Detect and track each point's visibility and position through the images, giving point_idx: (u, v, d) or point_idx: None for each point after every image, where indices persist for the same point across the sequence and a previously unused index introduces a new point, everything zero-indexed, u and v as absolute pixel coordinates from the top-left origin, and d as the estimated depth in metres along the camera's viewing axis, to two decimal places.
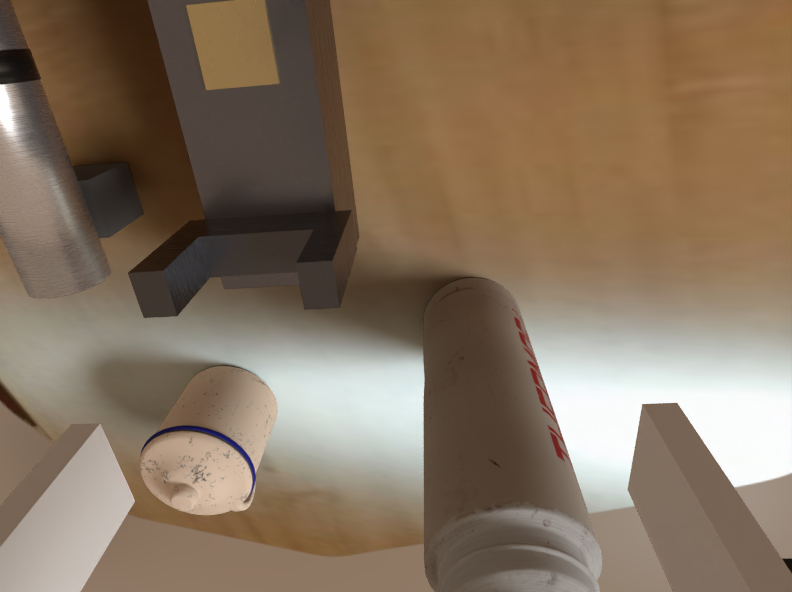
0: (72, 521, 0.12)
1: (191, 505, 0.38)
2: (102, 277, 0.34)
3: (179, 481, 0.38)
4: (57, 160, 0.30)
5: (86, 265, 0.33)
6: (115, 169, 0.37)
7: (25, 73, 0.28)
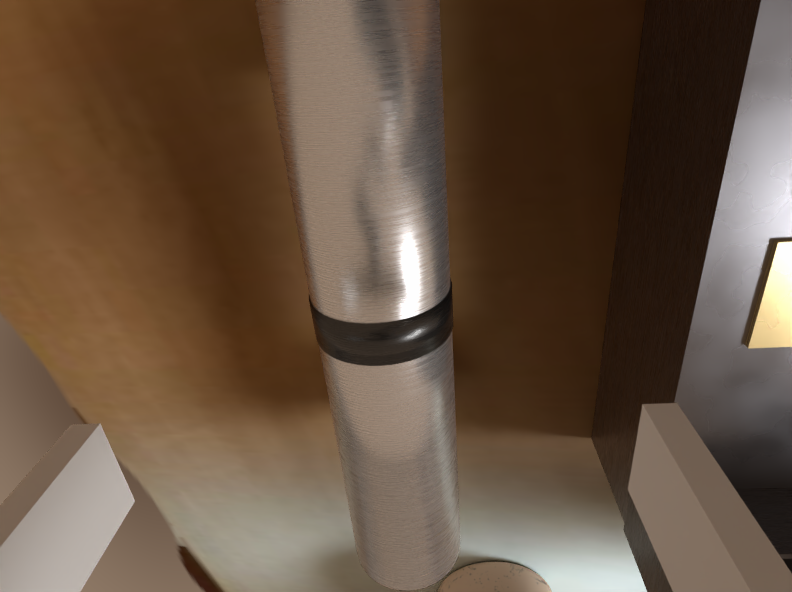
0: (72, 521, 0.12)
1: None
2: (459, 546, 0.24)
3: None
4: (454, 421, 0.21)
5: (453, 543, 0.23)
6: None
7: (451, 319, 0.18)
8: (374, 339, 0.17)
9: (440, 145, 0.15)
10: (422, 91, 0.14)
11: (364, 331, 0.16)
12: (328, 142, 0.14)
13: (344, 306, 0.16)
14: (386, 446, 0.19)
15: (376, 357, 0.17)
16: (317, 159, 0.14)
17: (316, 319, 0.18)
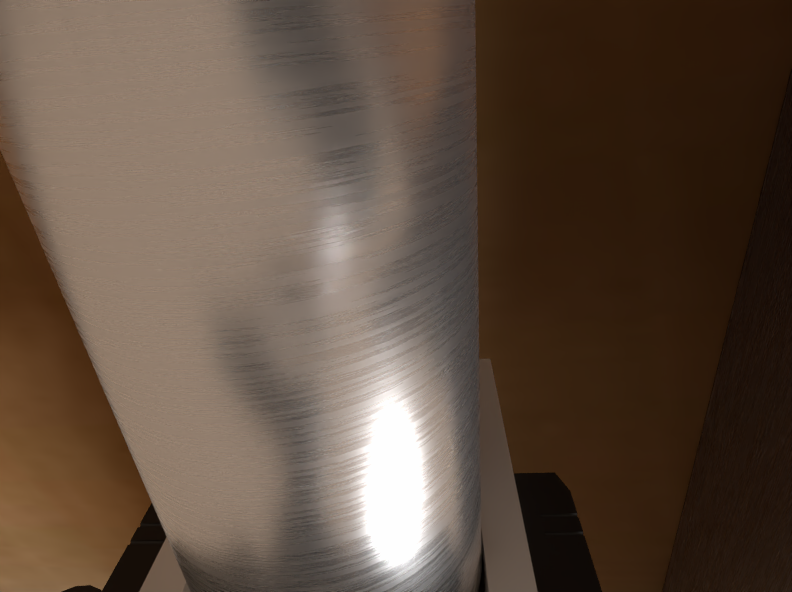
0: None
1: None
2: None
3: None
4: None
5: None
6: None
7: None
8: None
9: (475, 336, 0.06)
10: (444, 241, 0.05)
11: None
12: (184, 397, 0.05)
13: None
14: None
15: None
16: (160, 426, 0.05)
17: None
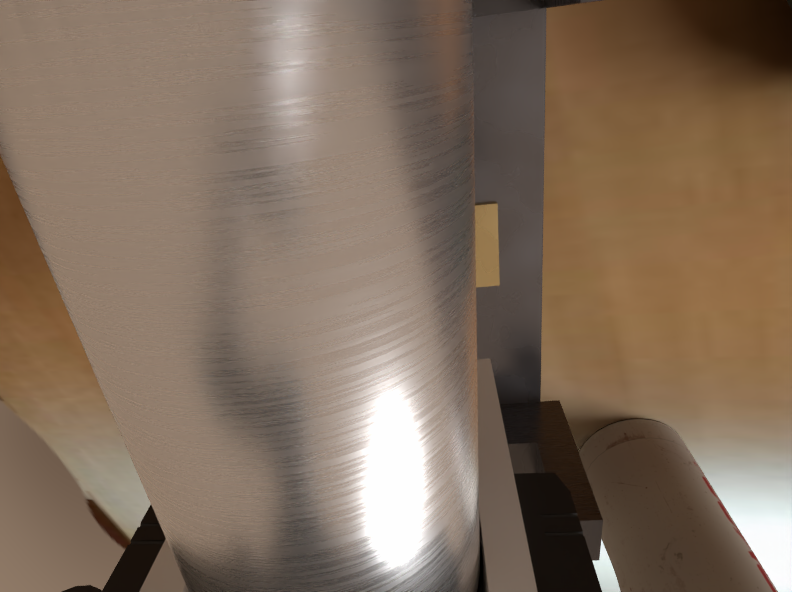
0: None
1: None
2: None
3: None
4: None
5: None
6: None
7: None
8: None
9: (473, 339, 0.07)
10: (441, 245, 0.05)
11: None
12: (182, 400, 0.05)
13: None
14: None
15: None
16: (159, 429, 0.05)
17: None
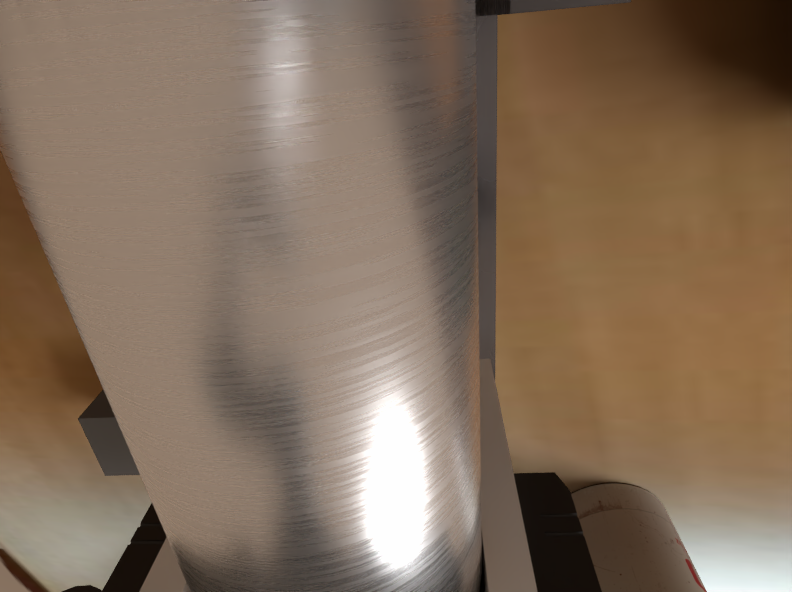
0: None
1: None
2: None
3: None
4: None
5: None
6: None
7: None
8: None
9: (475, 340, 0.07)
10: (444, 246, 0.05)
11: None
12: (185, 402, 0.05)
13: None
14: None
15: None
16: (163, 430, 0.05)
17: None
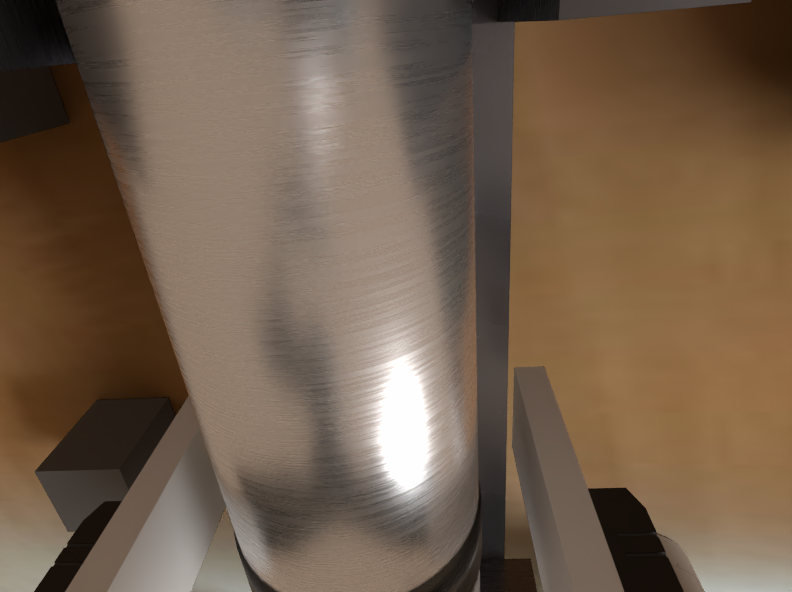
0: (210, 464, 0.13)
1: None
2: None
3: None
4: None
5: None
6: (154, 421, 0.26)
7: (481, 534, 0.11)
8: None
9: (473, 281, 0.08)
10: (451, 195, 0.06)
11: None
12: (250, 319, 0.06)
13: (301, 583, 0.08)
14: None
15: None
16: (225, 346, 0.06)
17: (249, 577, 0.10)
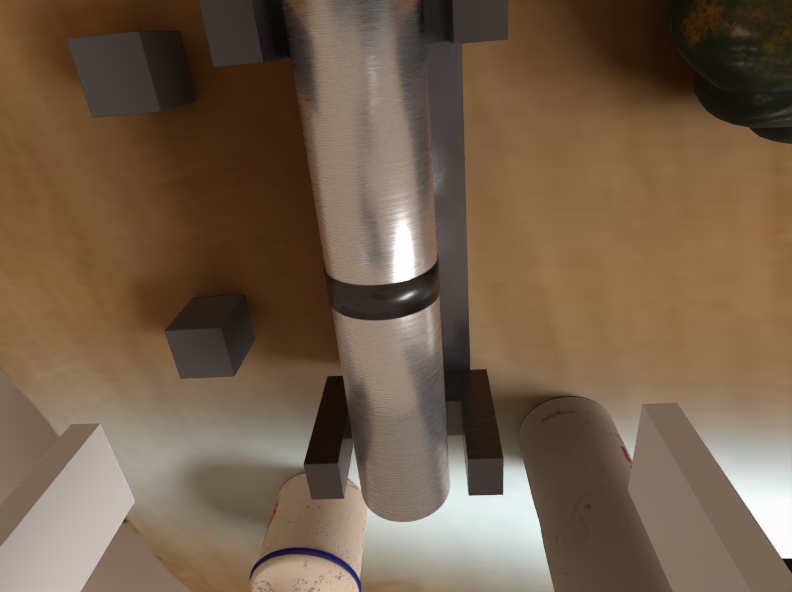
0: (72, 521, 0.12)
1: None
2: (449, 487, 0.29)
3: None
4: (442, 373, 0.25)
5: (443, 481, 0.27)
6: (237, 306, 0.38)
7: (438, 286, 0.23)
8: (378, 298, 0.21)
9: (427, 145, 0.20)
10: (413, 105, 0.18)
11: (369, 292, 0.21)
12: (343, 143, 0.18)
13: (354, 272, 0.21)
14: (387, 389, 0.23)
15: (380, 312, 0.21)
16: (334, 155, 0.19)
17: (331, 285, 0.22)
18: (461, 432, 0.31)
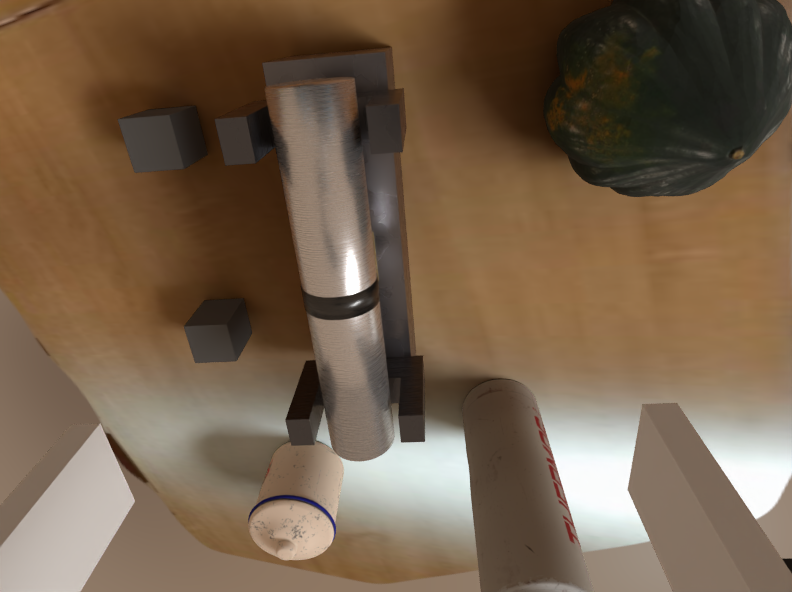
0: (72, 521, 0.12)
1: (292, 556, 0.51)
2: (393, 436, 0.40)
3: (282, 537, 0.51)
4: (384, 354, 0.37)
5: (389, 431, 0.39)
6: (238, 307, 0.49)
7: (378, 295, 0.34)
8: (338, 305, 0.32)
9: (366, 207, 0.31)
10: (356, 185, 0.30)
11: (332, 301, 0.32)
12: (313, 211, 0.30)
13: (322, 289, 0.32)
14: (347, 366, 0.34)
15: (339, 315, 0.33)
16: (307, 218, 0.30)
17: (306, 298, 0.33)
18: None
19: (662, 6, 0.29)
